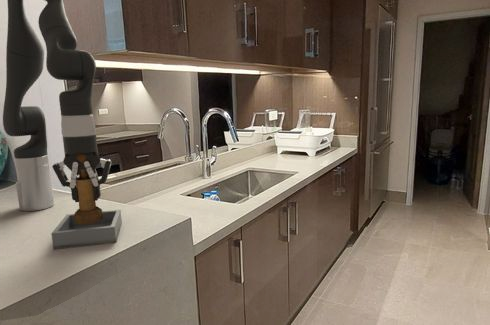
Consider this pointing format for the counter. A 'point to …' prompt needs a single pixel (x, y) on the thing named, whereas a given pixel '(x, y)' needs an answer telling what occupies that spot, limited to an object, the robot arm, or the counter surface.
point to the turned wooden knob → (86, 199)
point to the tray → (87, 231)
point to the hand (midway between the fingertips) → (87, 200)
